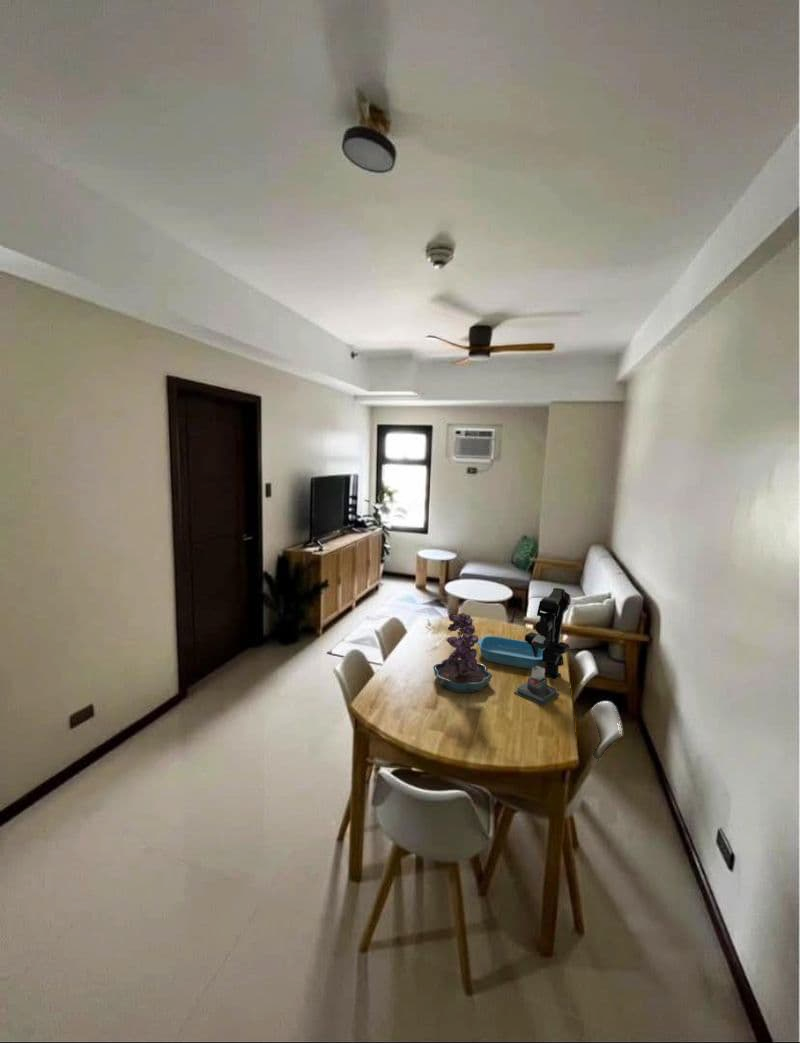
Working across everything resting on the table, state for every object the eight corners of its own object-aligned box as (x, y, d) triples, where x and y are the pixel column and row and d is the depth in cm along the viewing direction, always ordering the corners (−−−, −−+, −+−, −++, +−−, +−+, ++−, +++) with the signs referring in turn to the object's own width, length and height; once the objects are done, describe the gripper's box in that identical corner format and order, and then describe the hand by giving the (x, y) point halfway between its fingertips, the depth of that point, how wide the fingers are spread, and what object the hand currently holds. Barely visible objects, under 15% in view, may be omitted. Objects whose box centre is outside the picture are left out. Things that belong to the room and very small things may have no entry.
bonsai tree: (438, 664, 215) (441, 600, 212) (494, 672, 208) (497, 607, 204) (421, 699, 182) (424, 624, 178) (487, 710, 174) (491, 633, 171)
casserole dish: (550, 657, 228) (551, 644, 227) (549, 675, 207) (550, 661, 206) (480, 645, 240) (481, 633, 239) (472, 661, 219) (473, 648, 219)
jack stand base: (530, 682, 199) (531, 668, 198) (559, 694, 189) (560, 679, 188) (513, 692, 189) (514, 677, 188) (543, 705, 179) (545, 690, 178)
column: (534, 688, 192) (536, 665, 191) (543, 692, 189) (545, 668, 188) (529, 692, 189) (531, 668, 188) (538, 695, 186) (540, 671, 185)
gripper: (518, 625, 192) (517, 659, 194) (558, 638, 178) (556, 674, 181) (532, 619, 199) (530, 651, 202) (571, 631, 186) (568, 666, 188)
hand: (545, 660), depth 193 cm, fingers open, 9 cm apart
